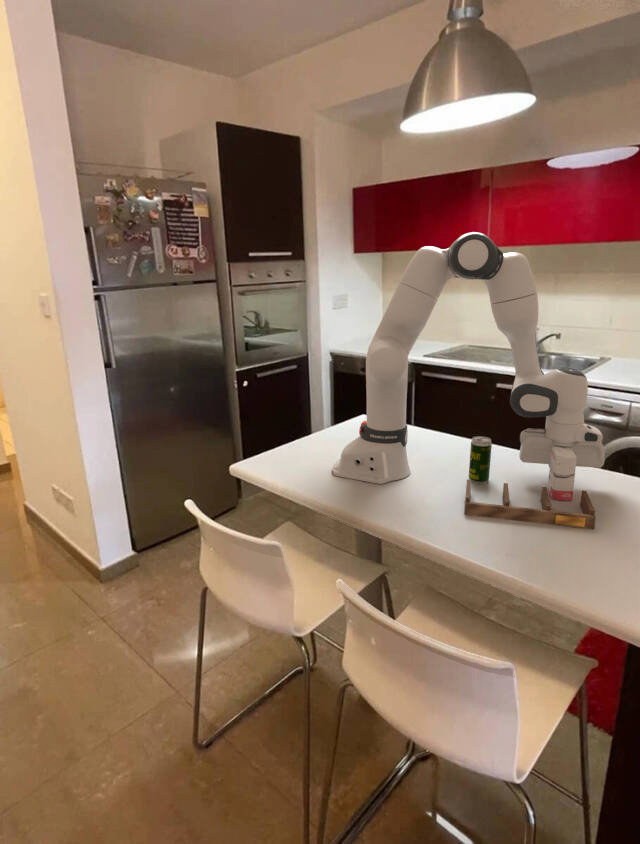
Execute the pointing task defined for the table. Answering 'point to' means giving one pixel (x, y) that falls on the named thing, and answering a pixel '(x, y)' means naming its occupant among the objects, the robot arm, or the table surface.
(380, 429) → the robot arm
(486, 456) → the beer can
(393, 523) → the table surface
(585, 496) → the rack
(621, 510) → the table surface
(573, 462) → the ink box
